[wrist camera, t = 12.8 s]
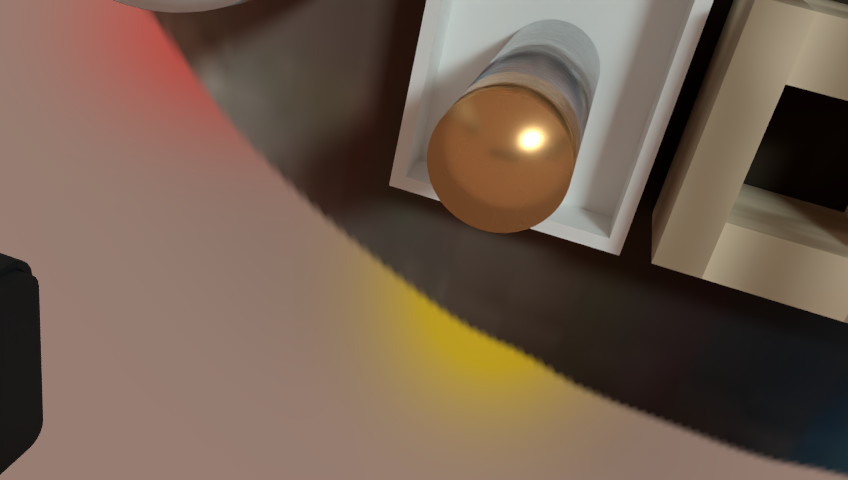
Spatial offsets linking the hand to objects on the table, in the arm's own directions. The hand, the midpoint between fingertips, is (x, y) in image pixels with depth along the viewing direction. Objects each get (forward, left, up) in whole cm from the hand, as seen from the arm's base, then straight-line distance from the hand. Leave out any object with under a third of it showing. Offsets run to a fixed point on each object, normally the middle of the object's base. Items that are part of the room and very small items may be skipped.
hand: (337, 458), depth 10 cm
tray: (0, 0, -25) cm, 25 cm away
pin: (0, 0, -24) cm, 24 cm away
